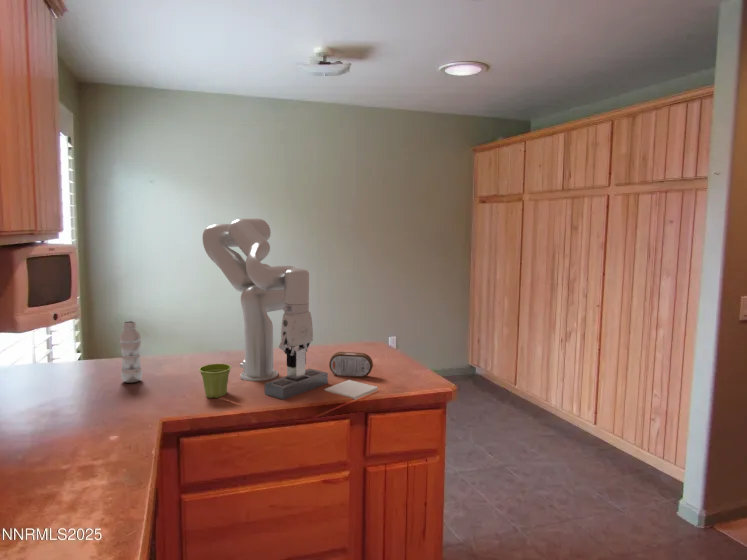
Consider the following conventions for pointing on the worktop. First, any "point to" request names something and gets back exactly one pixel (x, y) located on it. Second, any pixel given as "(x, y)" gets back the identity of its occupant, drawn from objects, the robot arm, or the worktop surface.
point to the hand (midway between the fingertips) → (296, 364)
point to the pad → (352, 389)
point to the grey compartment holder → (295, 384)
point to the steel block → (297, 365)
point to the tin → (351, 364)
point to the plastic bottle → (130, 353)
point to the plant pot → (215, 379)
